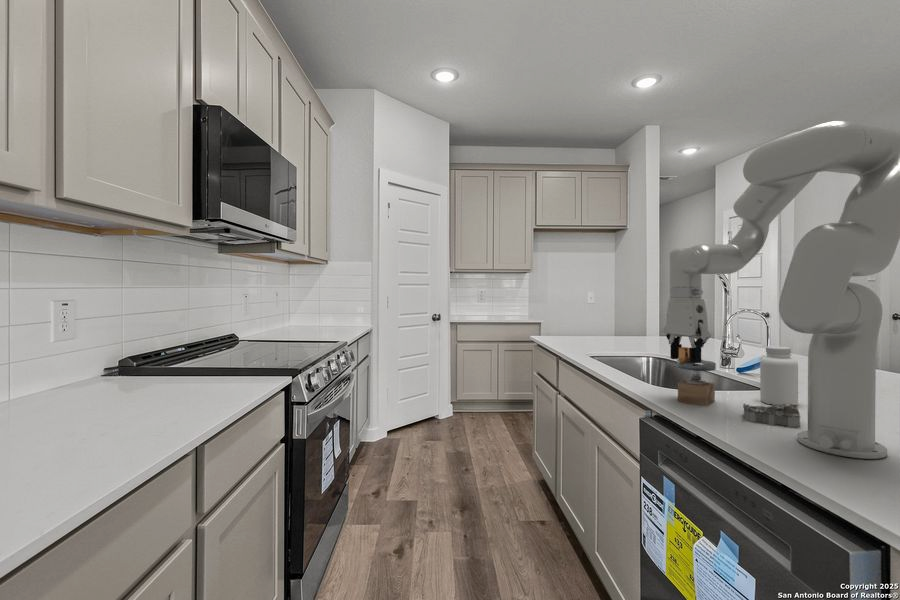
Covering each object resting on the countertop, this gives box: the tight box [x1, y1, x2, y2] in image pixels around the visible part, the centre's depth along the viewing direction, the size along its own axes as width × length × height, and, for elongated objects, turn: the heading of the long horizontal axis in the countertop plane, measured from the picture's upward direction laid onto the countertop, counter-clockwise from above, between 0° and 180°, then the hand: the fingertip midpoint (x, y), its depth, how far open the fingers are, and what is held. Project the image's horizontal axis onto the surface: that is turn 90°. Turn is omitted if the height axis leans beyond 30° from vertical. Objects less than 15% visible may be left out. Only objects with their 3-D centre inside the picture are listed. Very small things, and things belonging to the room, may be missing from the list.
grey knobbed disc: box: [676, 346, 717, 381], centre depth 115 cm, size 10×9×9 cm
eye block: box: [677, 379, 716, 407], centre depth 115 cm, size 7×7×6 cm
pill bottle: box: [759, 345, 799, 407], centre depth 112 cm, size 8×8×15 cm
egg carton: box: [742, 403, 802, 428], centre depth 98 cm, size 11×8×4 cm
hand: (685, 360), depth 114 cm, fingers open, 6 cm apart
